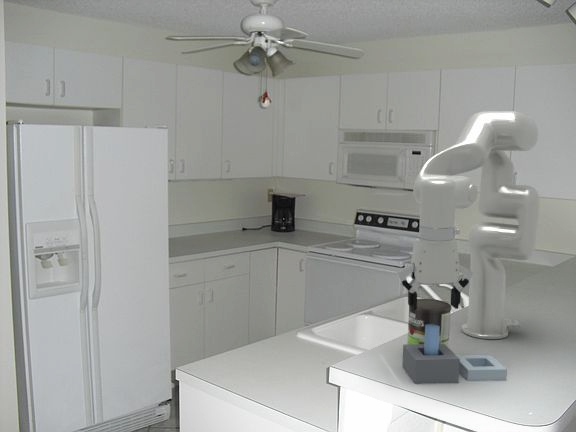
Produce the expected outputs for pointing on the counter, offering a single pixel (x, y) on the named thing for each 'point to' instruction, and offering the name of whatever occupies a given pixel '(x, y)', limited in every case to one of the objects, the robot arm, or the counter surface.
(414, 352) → the port
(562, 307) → the counter surface
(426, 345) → the plug
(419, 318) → the coffee can
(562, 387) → the counter surface
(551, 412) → the counter surface
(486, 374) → the square frame plate
